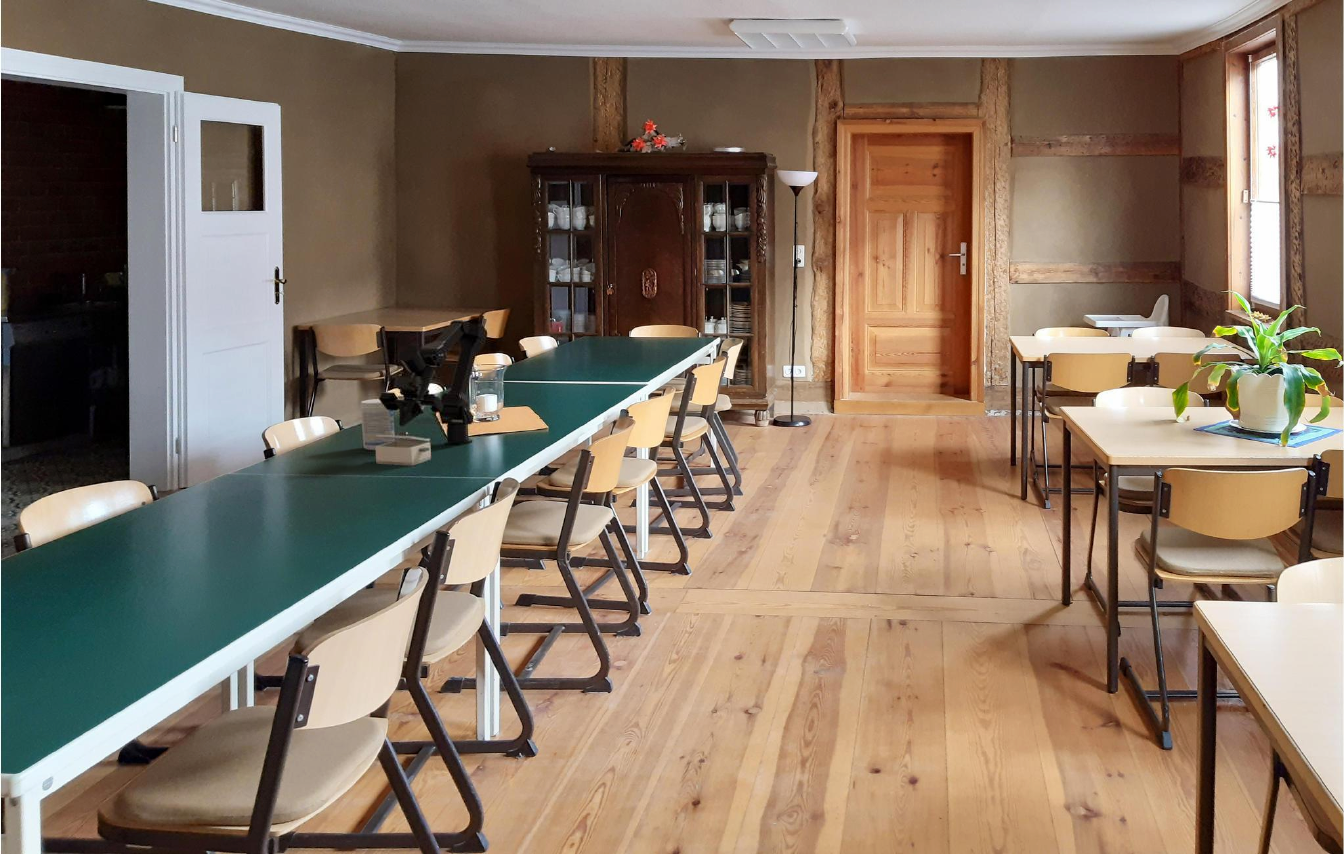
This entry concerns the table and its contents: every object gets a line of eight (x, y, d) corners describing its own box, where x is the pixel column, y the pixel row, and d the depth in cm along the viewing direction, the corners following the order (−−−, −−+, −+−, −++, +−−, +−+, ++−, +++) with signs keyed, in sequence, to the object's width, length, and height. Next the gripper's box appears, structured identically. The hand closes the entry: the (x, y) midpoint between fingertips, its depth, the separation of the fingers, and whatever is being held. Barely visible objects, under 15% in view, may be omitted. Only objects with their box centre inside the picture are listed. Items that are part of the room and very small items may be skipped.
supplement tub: (400, 448, 383) (397, 401, 380) (370, 452, 378) (367, 404, 375) (388, 444, 391) (385, 397, 388) (358, 447, 386) (356, 400, 383)
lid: (395, 439, 368) (396, 433, 368) (430, 441, 364) (430, 435, 364) (375, 436, 359) (376, 430, 359) (411, 438, 354) (411, 432, 355)
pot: (389, 456, 369) (388, 440, 369) (436, 459, 364) (436, 442, 363) (370, 463, 360) (369, 446, 359) (418, 466, 355) (417, 448, 354)
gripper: (380, 365, 365) (360, 407, 357) (436, 366, 359) (417, 410, 350) (397, 388, 374) (378, 430, 366) (451, 389, 367) (433, 433, 359)
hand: (401, 425), depth 360 cm, fingers closed
